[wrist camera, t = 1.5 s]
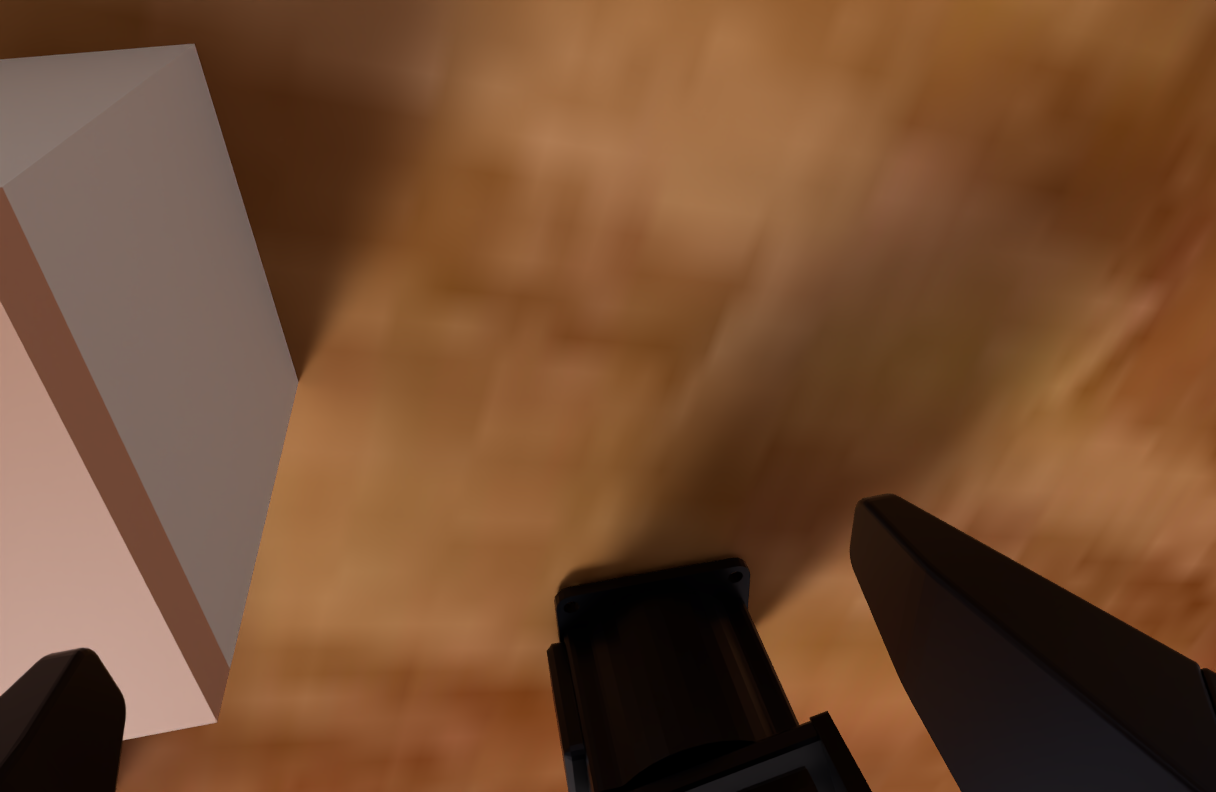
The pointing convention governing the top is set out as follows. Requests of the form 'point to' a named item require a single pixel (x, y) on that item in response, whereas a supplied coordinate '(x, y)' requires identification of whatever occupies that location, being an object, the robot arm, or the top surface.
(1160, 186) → the top surface
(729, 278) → the top surface
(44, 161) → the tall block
